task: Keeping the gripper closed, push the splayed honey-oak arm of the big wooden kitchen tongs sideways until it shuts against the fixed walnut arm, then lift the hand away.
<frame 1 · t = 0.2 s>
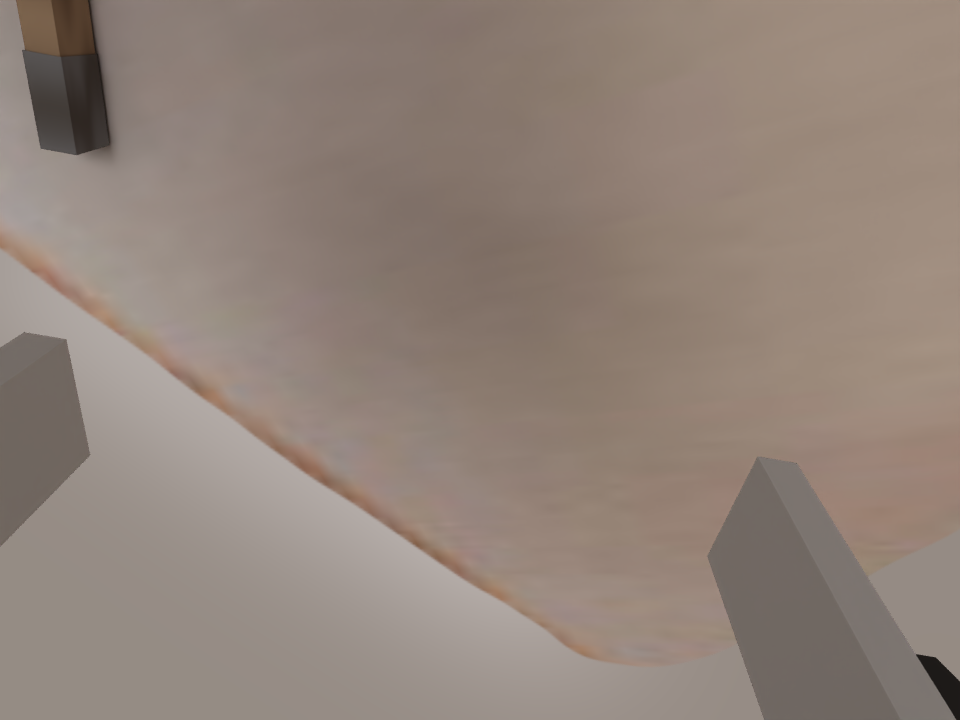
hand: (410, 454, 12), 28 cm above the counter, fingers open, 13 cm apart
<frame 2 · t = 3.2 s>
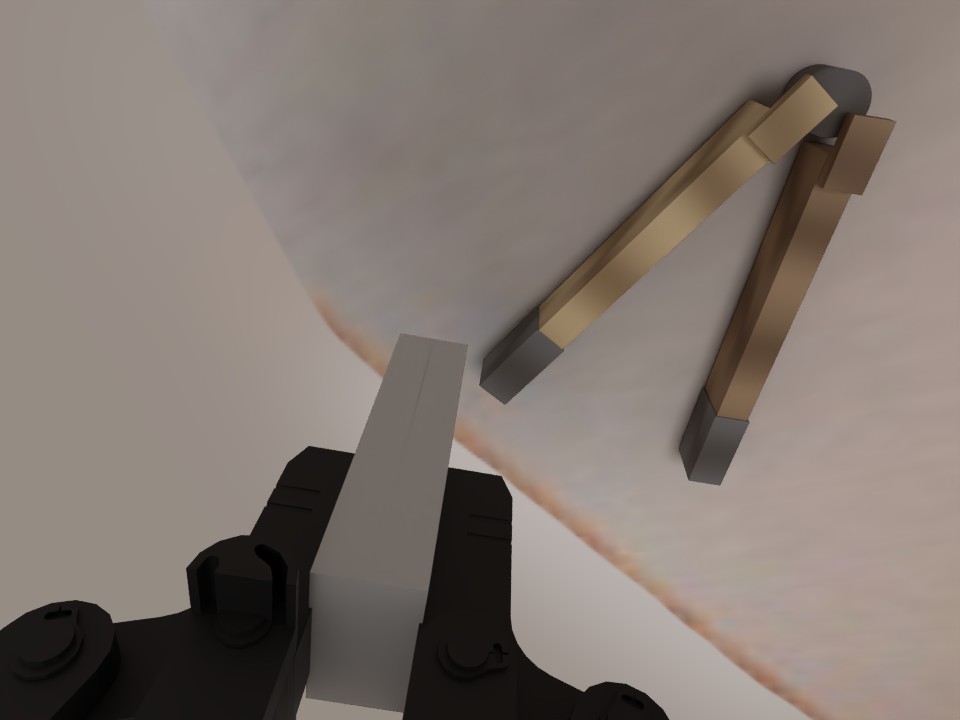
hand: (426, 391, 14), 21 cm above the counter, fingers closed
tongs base: (812, 96, 29), on the counter
tong arm: (627, 257, 32), point 2 cm above the counter, hinge at 32.0°
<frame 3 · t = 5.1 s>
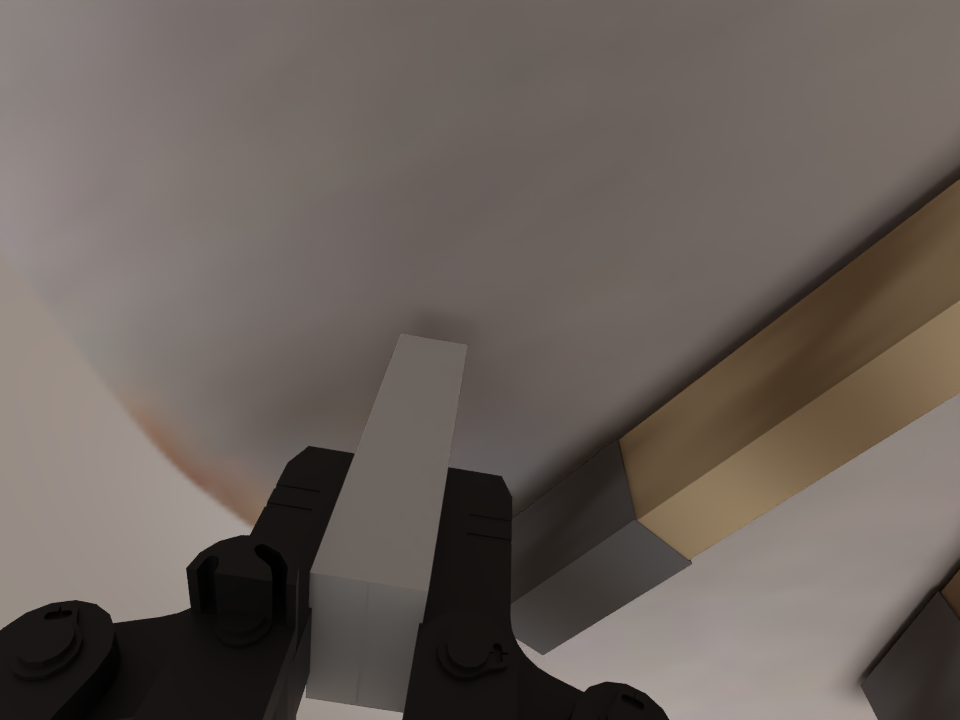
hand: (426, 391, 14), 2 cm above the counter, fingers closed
tong arm: (874, 354, 12), point 2 cm above the counter, hinge at 32.0°
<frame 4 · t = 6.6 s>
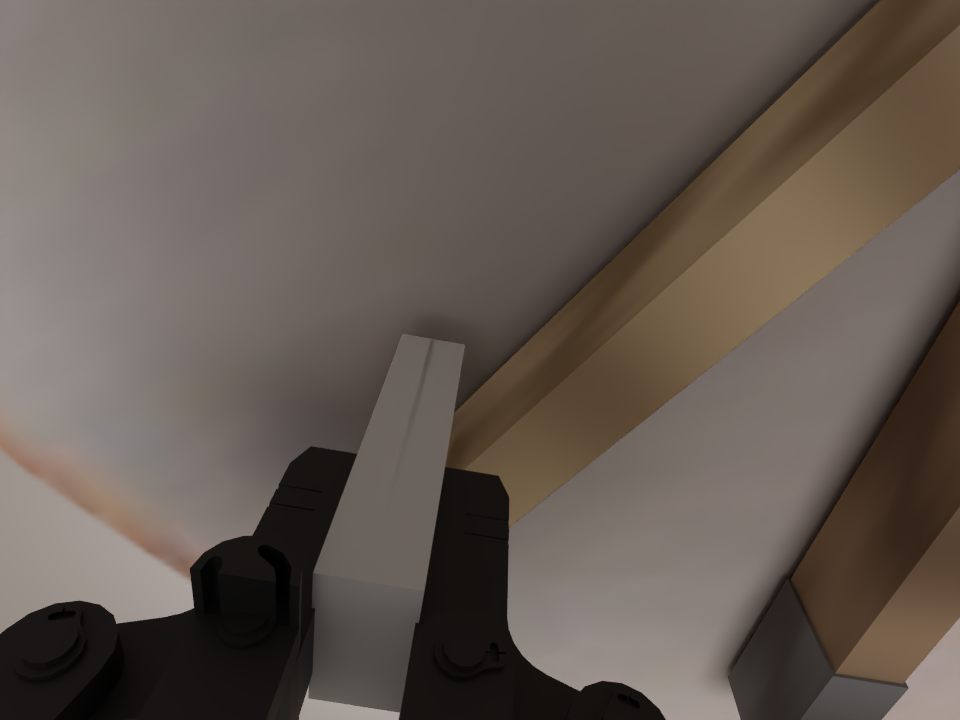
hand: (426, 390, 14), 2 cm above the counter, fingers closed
tong arm: (644, 330, 12), point 2 cm above the counter, hinge at 31.3°, touching gripper
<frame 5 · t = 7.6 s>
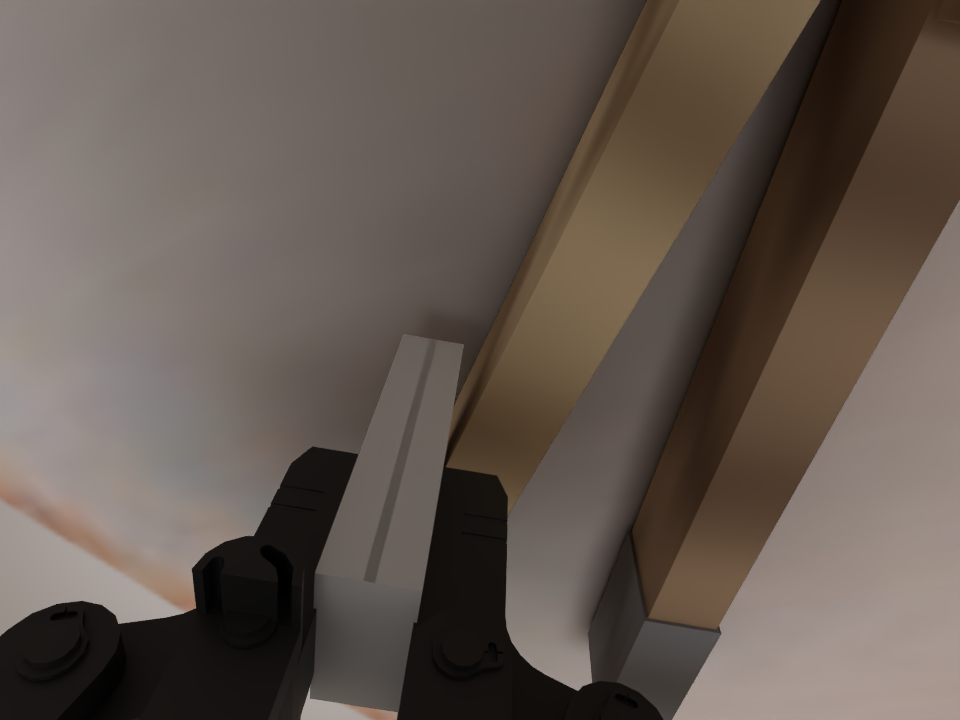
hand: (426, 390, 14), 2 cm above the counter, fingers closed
tong arm: (536, 357, 13), point 2 cm above the counter, hinge at 13.4°, touching gripper
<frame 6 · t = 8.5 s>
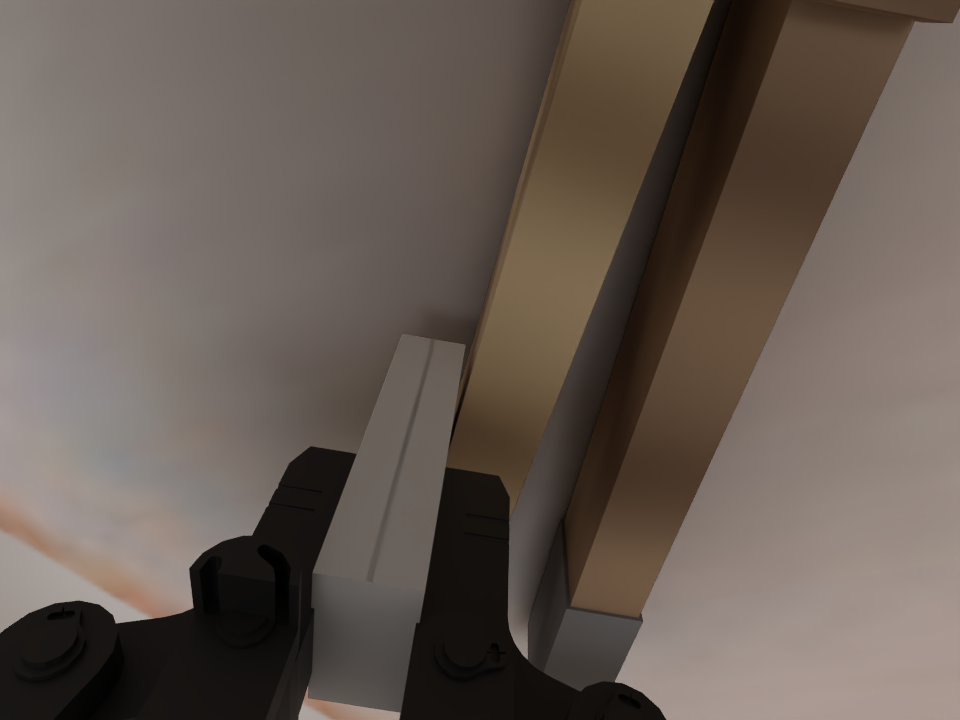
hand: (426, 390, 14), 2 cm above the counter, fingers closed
tong arm: (511, 371, 13), point 2 cm above the counter, hinge at 5.3°, touching gripper
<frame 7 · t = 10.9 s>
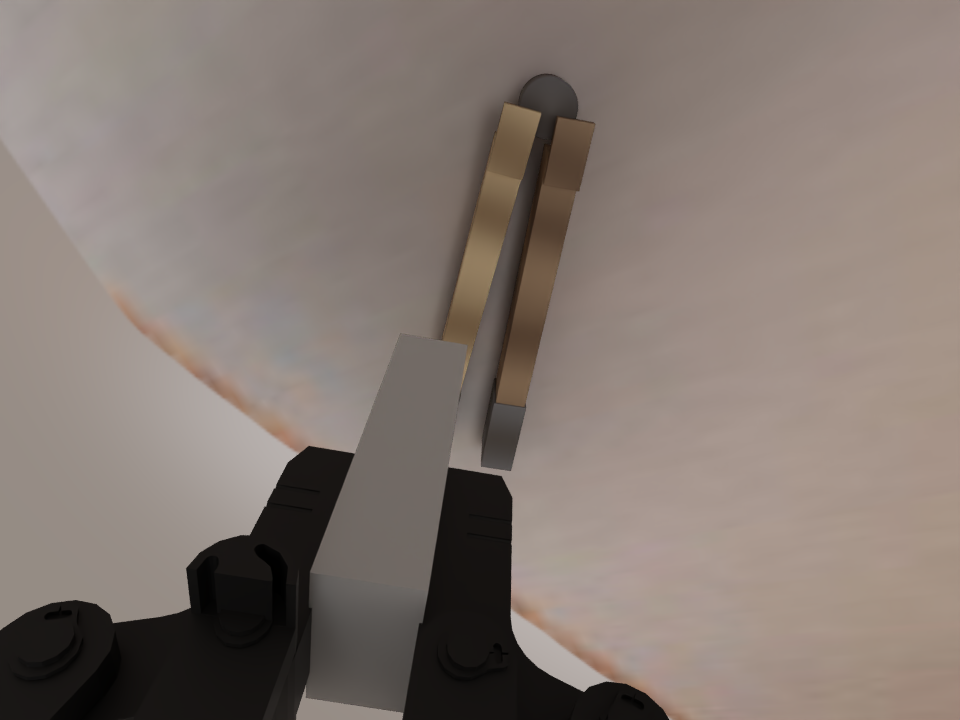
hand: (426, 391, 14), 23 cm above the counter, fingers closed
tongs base: (545, 103, 32), on the counter
tong arm: (468, 300, 35), point 2 cm above the counter, hinge at 5.2°
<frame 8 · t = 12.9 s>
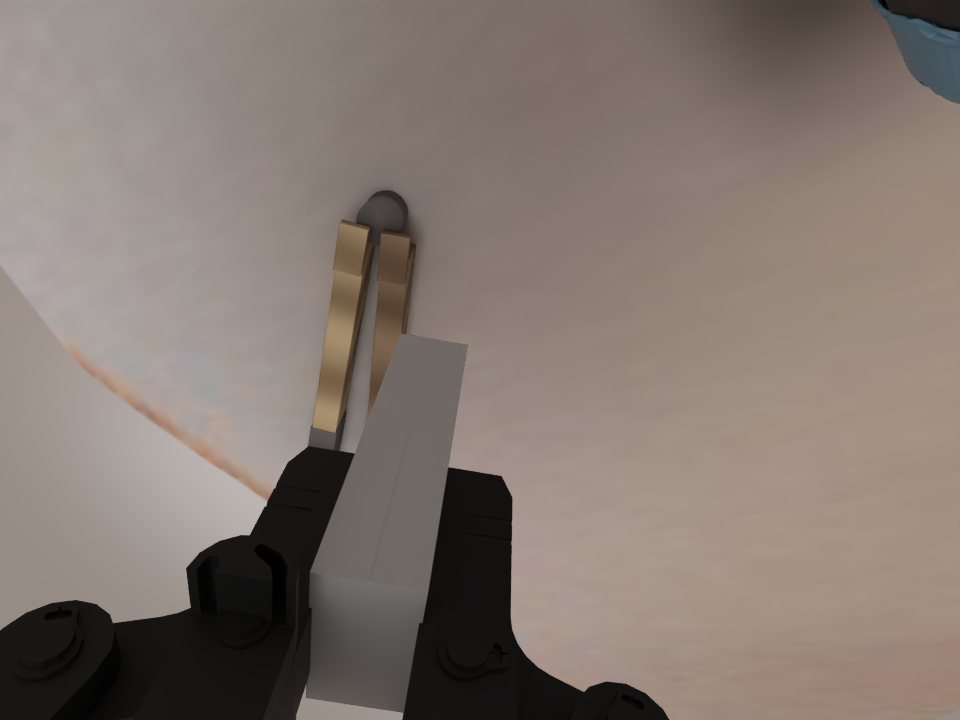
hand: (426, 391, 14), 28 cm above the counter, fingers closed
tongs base: (387, 211, 41), on the counter
tong arm: (338, 358, 44), point 2 cm above the counter, hinge at 5.2°
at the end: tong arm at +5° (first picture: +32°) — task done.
